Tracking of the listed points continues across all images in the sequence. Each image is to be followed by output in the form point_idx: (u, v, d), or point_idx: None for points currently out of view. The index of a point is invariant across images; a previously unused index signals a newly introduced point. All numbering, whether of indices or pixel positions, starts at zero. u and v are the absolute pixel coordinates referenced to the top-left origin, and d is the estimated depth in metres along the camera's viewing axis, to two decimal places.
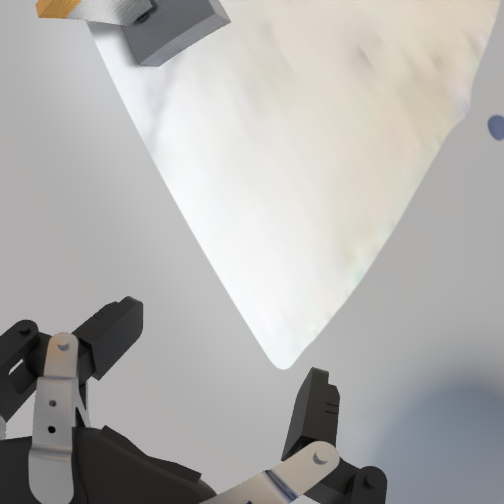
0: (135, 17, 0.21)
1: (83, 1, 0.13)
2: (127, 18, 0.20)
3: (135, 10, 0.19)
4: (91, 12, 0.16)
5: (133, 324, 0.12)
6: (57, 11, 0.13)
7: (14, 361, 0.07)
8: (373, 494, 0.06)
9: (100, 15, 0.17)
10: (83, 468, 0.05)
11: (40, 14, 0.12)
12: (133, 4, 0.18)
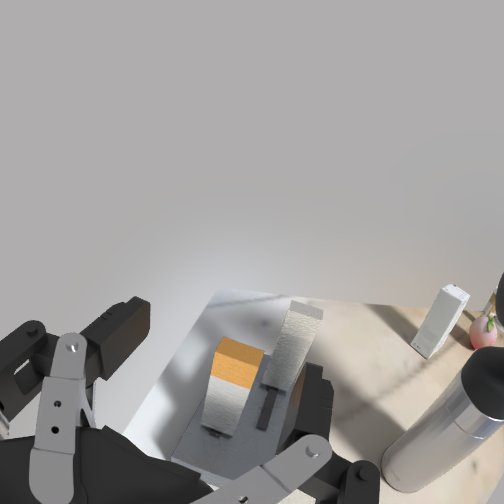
0: (213, 427, 0.27)
1: (234, 386, 0.23)
2: (212, 422, 0.26)
3: (223, 425, 0.26)
4: (218, 394, 0.24)
5: (140, 324, 0.12)
6: (222, 367, 0.22)
7: (19, 361, 0.07)
8: (367, 488, 0.06)
9: (214, 402, 0.25)
10: (83, 468, 0.05)
11: (219, 352, 0.22)
12: (232, 423, 0.25)
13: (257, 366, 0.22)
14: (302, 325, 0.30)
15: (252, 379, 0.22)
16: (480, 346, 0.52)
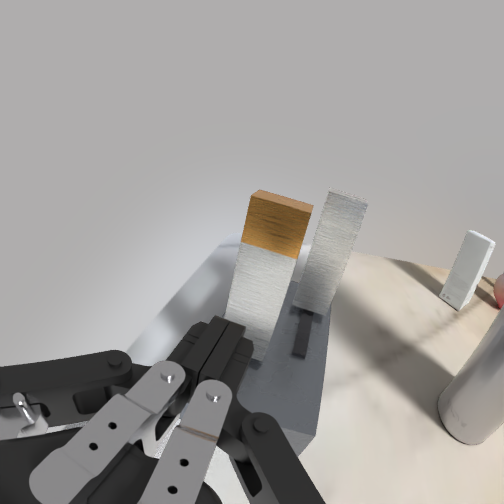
0: None
1: (274, 257, 0.18)
2: None
3: None
4: (250, 279, 0.19)
5: None
6: (259, 222, 0.17)
7: (86, 386, 0.08)
8: (271, 438, 0.07)
9: (242, 296, 0.20)
10: None
11: (256, 196, 0.17)
12: (265, 334, 0.20)
13: (309, 212, 0.16)
14: (345, 211, 0.24)
15: (301, 238, 0.17)
16: None
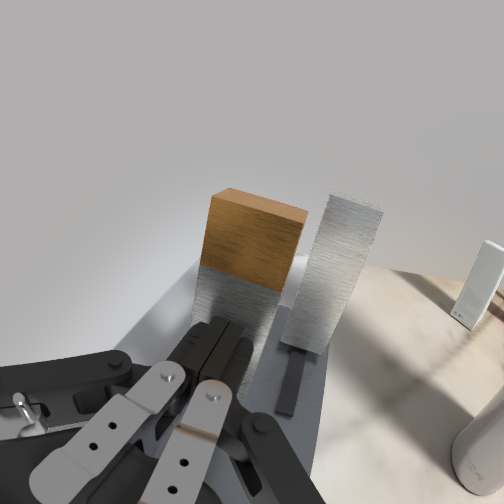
0: None
1: (248, 288, 0.12)
2: None
3: None
4: None
5: None
6: (225, 237, 0.11)
7: (86, 386, 0.08)
8: (271, 438, 0.07)
9: None
10: None
11: (219, 197, 0.11)
12: None
13: (300, 222, 0.11)
14: (352, 223, 0.18)
15: (288, 261, 0.11)
16: None
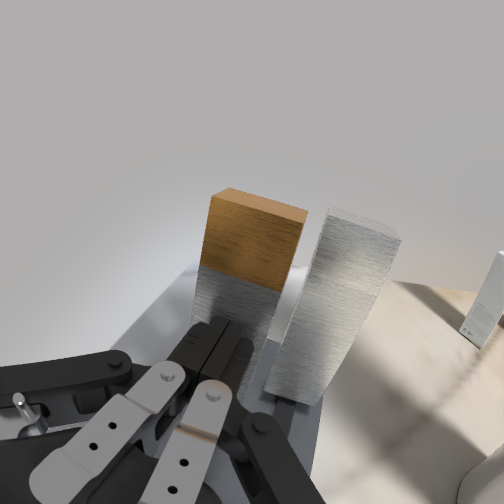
0: None
1: (248, 288, 0.12)
2: None
3: None
4: None
5: None
6: (225, 237, 0.11)
7: (86, 386, 0.08)
8: (271, 438, 0.07)
9: None
10: None
11: (219, 197, 0.11)
12: None
13: (300, 222, 0.11)
14: (358, 254, 0.13)
15: (288, 261, 0.11)
16: None
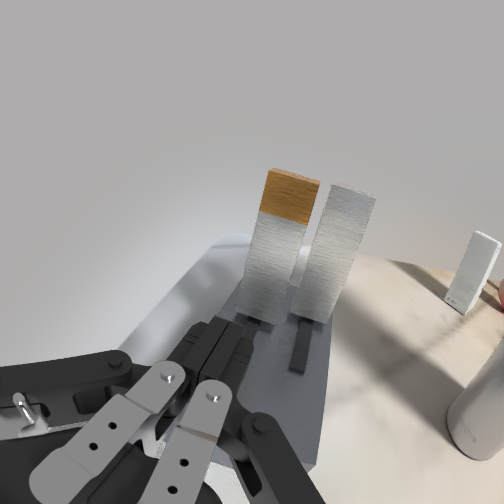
0: (251, 313, 0.24)
1: (288, 224, 0.21)
2: (250, 302, 0.24)
3: (265, 305, 0.24)
4: (266, 244, 0.22)
5: None
6: (275, 193, 0.20)
7: (86, 386, 0.08)
8: (271, 438, 0.07)
9: (258, 261, 0.22)
10: None
11: (273, 171, 0.20)
12: (278, 297, 0.23)
13: (317, 184, 0.19)
14: (350, 207, 0.21)
15: (311, 206, 0.20)
16: None
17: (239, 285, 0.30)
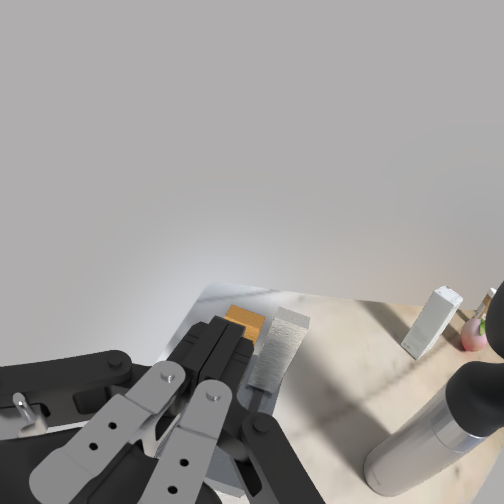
0: None
1: None
2: None
3: None
4: None
5: None
6: None
7: (86, 386, 0.08)
8: (271, 438, 0.07)
9: None
10: None
11: (228, 316, 0.28)
12: None
13: (259, 328, 0.27)
14: (288, 332, 0.30)
15: (254, 340, 0.28)
16: (471, 348, 0.54)
17: None
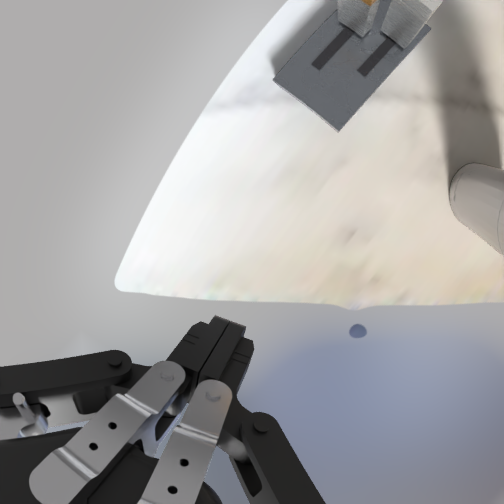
0: (347, 26, 0.25)
1: (357, 0, 0.17)
2: (345, 21, 0.24)
3: (355, 26, 0.24)
4: (347, 2, 0.19)
5: None
6: None
7: (86, 386, 0.08)
8: (271, 438, 0.07)
9: (344, 6, 0.20)
10: None
11: None
12: (361, 27, 0.23)
13: None
14: (413, 4, 0.14)
15: None
16: None
17: None
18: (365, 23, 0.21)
